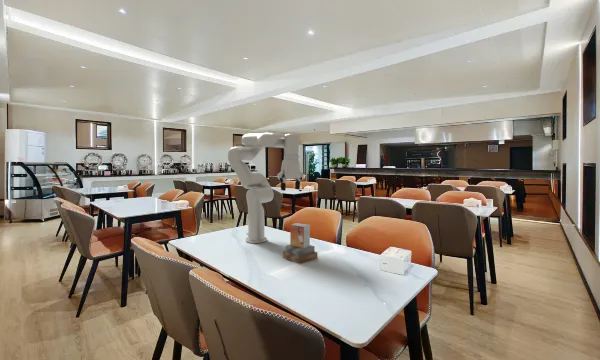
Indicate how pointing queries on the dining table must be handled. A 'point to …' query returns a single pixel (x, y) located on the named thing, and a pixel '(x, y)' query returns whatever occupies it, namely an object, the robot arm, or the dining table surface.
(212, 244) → the dining table surface
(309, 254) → the tower base
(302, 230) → the small box
